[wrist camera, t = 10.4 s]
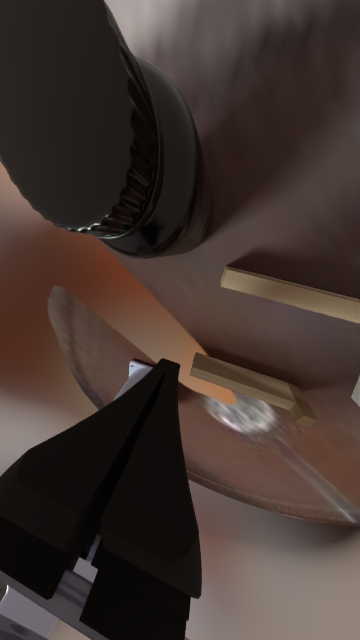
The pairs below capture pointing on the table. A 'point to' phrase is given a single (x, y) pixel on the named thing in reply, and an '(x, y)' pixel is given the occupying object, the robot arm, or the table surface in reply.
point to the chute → (259, 383)
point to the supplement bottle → (98, 131)
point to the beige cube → (356, 393)
